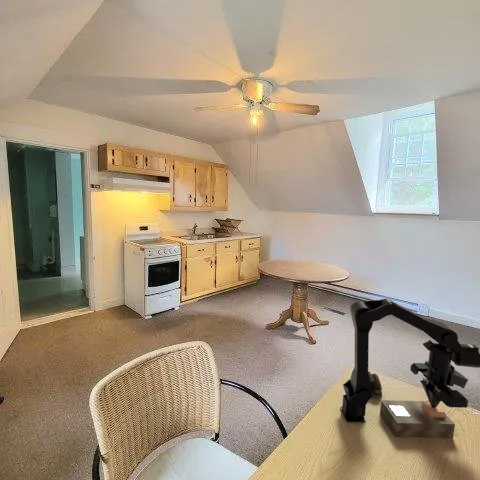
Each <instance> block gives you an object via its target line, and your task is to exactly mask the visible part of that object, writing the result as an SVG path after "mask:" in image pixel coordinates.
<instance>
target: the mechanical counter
mask: <svg viewBox="0 0 480 480" xmlns="http://www.w3.org/2000/svg"><path fill="white" fill-rule="evenodd" d="M371 375H372V377H373V379H374V381H375V386H374V392H375V394H377V393H378V394H379V395H380V397H382V396H383V392H382V390H383V389H382V384H381V380H380V377H379V376H378V374H377V373H371ZM349 380H350V379H347V381H349Z"/></svg>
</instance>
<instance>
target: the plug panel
mask: <svg viewBox="0 0 480 480" xmlns="http://www.w3.org/2000/svg"><path fill="white" fill-rule="evenodd" d="M380 401H381V402H380V407H379V408H380V410H379V414H380V416H381V417H382V419H383V420H384V422H385V423H386V425H387V426H388V428H389V429H390V431H391V432H392V434H393V436H394V437H395V438H405V439H407V438H409V439H413V438H414V439H454V435H455V429H456V428H455V427H456V423H455V422H454V421H453V420H452V419H451V418H449V416H448V415H447V414H446V413H445V417H444V418H430V417H429V415H428V414H427V413H426V412H425V411H424V410H423V409H422V402H429V400H428V401H426V400H425V401H424V400H423V401H422V400H385V399H384V400H383V399H382V400H381V399H380ZM389 406H403V408H404V409H405V410H406V411H407V413H408V414H409V415H410V417H396V416H395V415H394V413H393V412H392V410H391V409H390V408H389Z"/></svg>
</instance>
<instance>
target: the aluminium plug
mask: <svg viewBox="0 0 480 480" xmlns="http://www.w3.org/2000/svg"><path fill="white" fill-rule="evenodd" d="M389 408H390V409H391V410H392V412H393V413H394V415H395V416H396V417H410V415H409V414H408V413H407V411H406V410H405V409H404V408H403V406H389Z"/></svg>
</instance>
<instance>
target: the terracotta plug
mask: <svg viewBox="0 0 480 480" xmlns="http://www.w3.org/2000/svg"><path fill="white" fill-rule="evenodd" d="M422 409H423V410H424V411H425V412H426V413H427V414H428V415H429V417H430V418H444V417H445V414H446V412H445V411H444V409H443V408H442V407H441V406H440V404H438V406H437V407H436V408H432V406H431V405H430V402H422Z"/></svg>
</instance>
